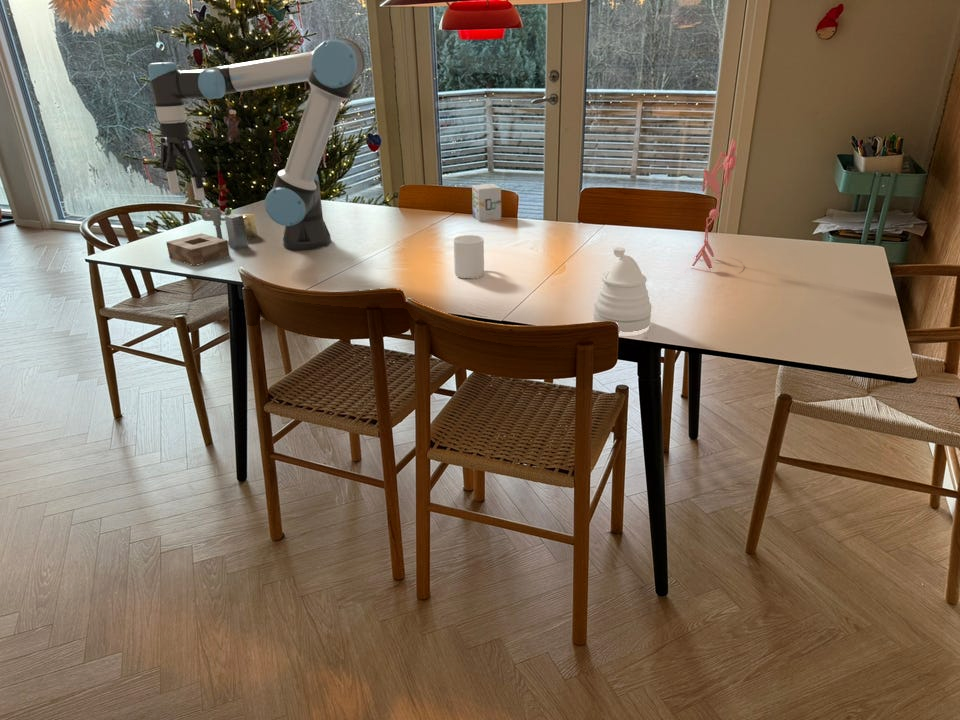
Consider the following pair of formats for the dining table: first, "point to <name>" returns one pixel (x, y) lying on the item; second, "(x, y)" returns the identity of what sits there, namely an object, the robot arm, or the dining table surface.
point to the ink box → (486, 202)
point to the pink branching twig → (712, 182)
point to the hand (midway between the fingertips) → (187, 196)
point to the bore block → (198, 249)
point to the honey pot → (624, 295)
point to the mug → (469, 256)
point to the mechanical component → (214, 217)
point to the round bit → (250, 225)
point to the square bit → (236, 231)
